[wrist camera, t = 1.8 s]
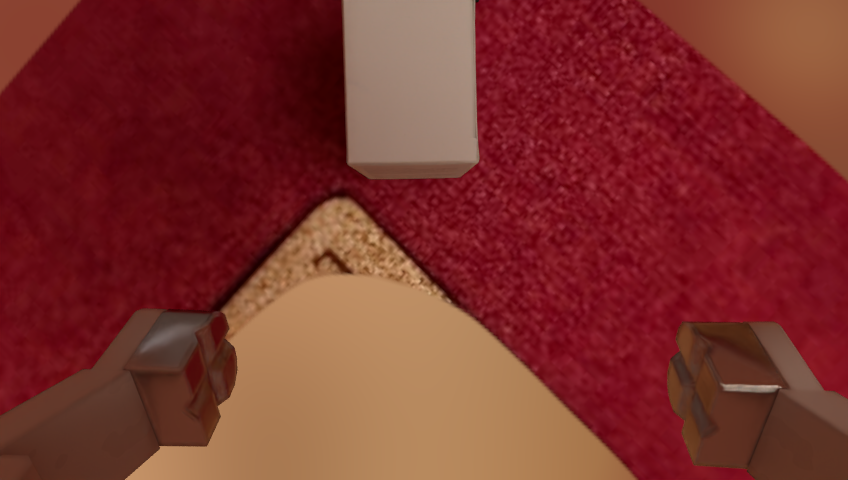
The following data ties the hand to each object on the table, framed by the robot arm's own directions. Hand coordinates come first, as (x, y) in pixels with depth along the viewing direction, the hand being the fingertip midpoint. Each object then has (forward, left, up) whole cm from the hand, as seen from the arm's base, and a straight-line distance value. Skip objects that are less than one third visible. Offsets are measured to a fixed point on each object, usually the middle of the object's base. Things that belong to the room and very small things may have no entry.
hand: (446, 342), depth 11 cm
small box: (-3, +8, -24) cm, 26 cm away
